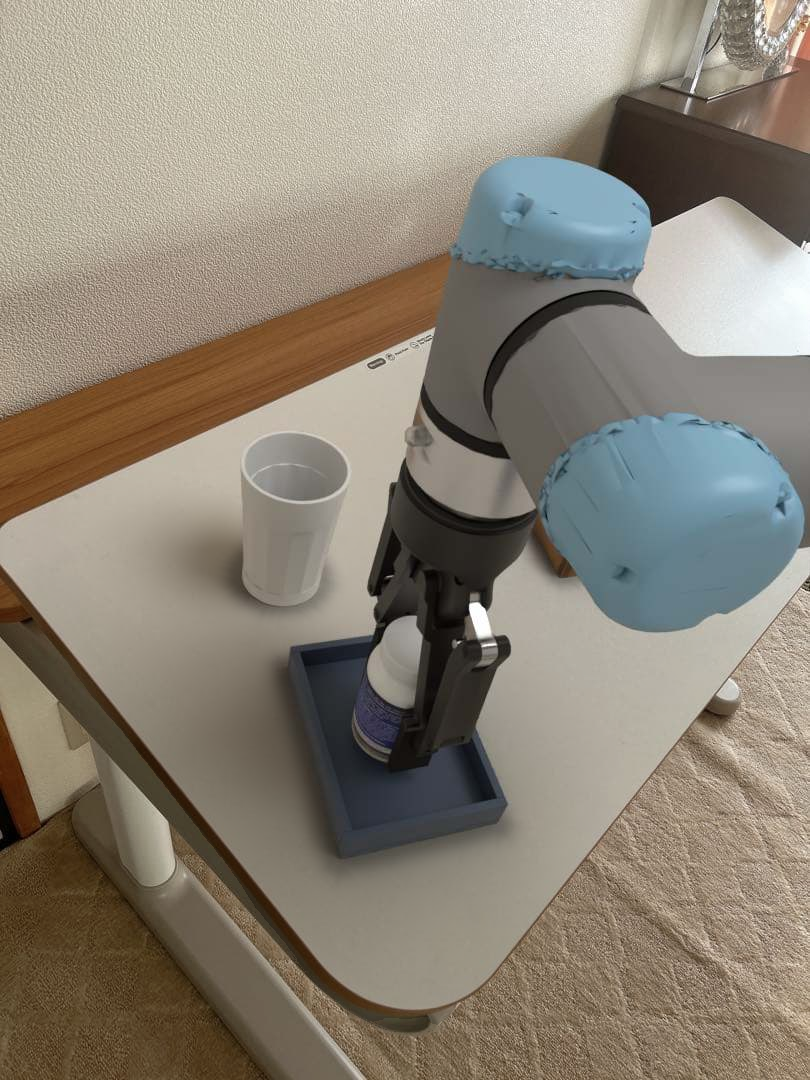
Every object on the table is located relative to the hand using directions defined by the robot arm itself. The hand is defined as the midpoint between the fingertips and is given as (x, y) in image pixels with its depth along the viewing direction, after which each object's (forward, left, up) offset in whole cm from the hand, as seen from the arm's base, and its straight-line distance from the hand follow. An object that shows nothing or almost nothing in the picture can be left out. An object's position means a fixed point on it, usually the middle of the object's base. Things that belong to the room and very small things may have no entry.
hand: (393, 723), depth 61 cm
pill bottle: (0, 0, -1) cm, 1 cm away
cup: (+16, +4, -2) cm, 17 cm away
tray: (0, 0, -2) cm, 2 cm away
